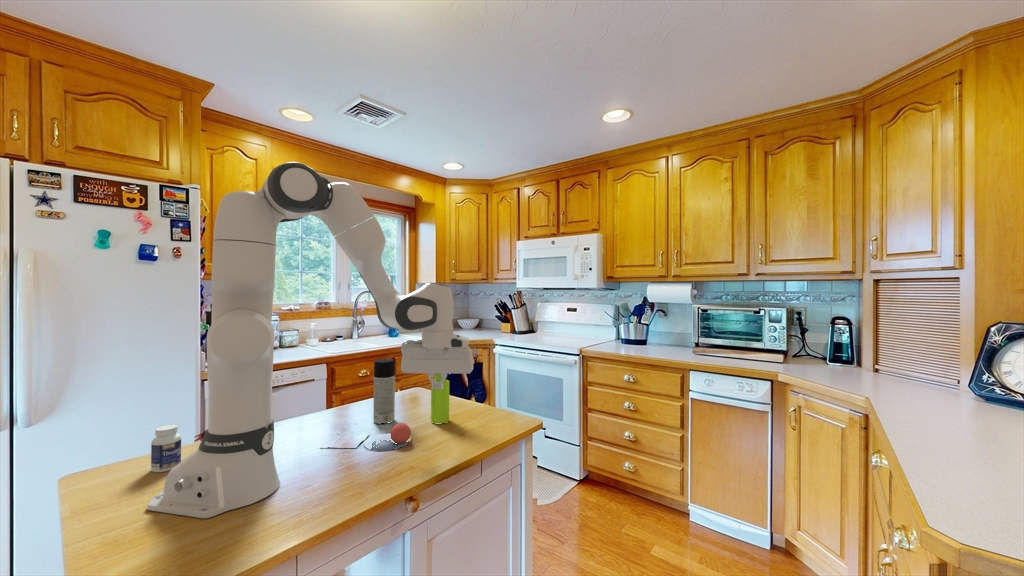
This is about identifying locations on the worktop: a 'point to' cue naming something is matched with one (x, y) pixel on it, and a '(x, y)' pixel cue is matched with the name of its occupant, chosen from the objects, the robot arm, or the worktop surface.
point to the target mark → (387, 445)
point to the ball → (400, 433)
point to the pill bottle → (165, 449)
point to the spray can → (384, 390)
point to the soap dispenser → (440, 401)
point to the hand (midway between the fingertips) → (437, 388)
